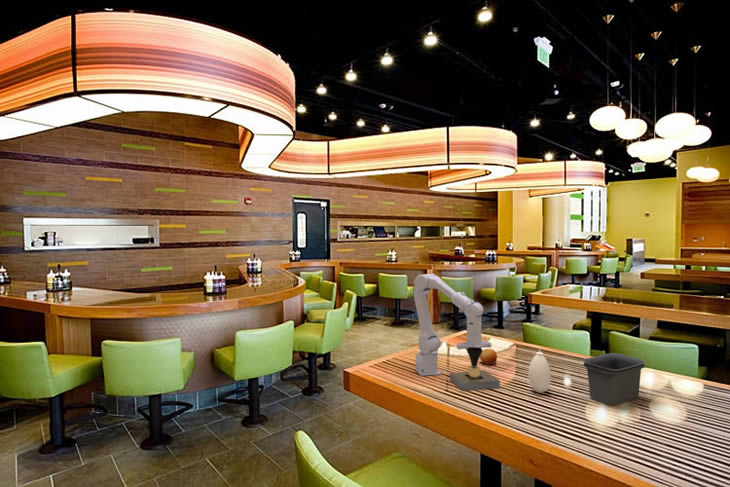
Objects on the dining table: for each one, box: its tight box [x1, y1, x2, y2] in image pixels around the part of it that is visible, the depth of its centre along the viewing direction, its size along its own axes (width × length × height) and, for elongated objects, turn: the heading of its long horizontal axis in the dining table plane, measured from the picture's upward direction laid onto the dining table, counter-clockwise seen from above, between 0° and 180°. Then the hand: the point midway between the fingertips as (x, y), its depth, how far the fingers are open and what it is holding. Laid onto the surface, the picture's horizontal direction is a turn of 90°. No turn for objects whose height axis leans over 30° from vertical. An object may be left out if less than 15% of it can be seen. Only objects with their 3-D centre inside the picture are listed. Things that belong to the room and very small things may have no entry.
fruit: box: [479, 348, 498, 366], centre depth 187 cm, size 8×8×8 cm
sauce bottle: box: [528, 345, 552, 394], centre depth 152 cm, size 8×8×18 cm
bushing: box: [468, 364, 481, 380], centre depth 160 cm, size 4×4×7 cm
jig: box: [449, 370, 501, 392], centre depth 160 cm, size 16×12×3 cm
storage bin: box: [582, 352, 647, 407], centre depth 146 cm, size 21×16×14 cm
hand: (474, 365), depth 160 cm, fingers closed
